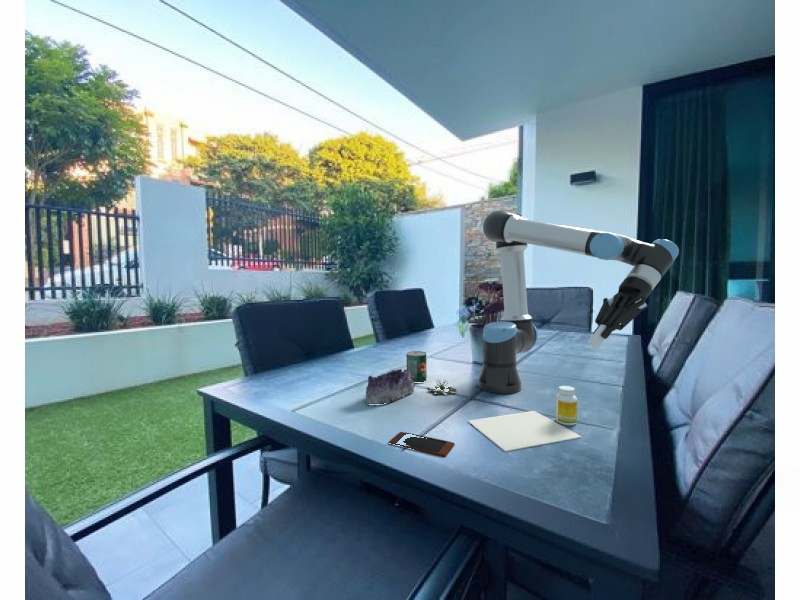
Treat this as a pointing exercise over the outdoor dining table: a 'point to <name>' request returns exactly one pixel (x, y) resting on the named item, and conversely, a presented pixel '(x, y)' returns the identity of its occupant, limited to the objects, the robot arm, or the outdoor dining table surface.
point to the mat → (522, 430)
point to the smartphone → (425, 444)
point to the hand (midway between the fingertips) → (592, 345)
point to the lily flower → (442, 387)
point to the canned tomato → (417, 365)
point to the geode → (389, 387)
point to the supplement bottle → (566, 406)
